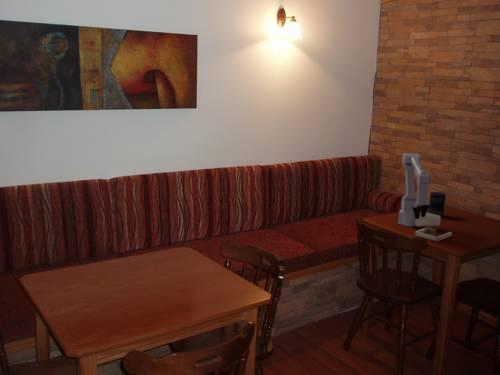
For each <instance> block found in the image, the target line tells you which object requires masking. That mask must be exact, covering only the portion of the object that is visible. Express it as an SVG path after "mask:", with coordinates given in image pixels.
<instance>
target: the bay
mask: <svg viewBox="0 0 500 375" xmlns="http://www.w3.org/2000/svg"><path fill="white" fill-rule="evenodd" d="M426 228H432V226H426V227H424V228H421V229H418V230H416V231H414V234H413V235H414V236H417V237H420V238H424V239H428V240H430V241H431V240H432V241H435V242H439V241H441V240H445V239H447V238H450V237H451V236H452V235H453V234H452V233H453V232H451V231H449V232H446V233H444V234H440V235H438V236H436V237H435V236H432V235H428V234H425V229H426Z"/></svg>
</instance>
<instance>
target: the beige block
mask: <svg viewBox="0 0 500 375" xmlns="http://www.w3.org/2000/svg"><path fill="white" fill-rule="evenodd" d="M425 228H426V229H425V233H424V234H428V235H432V236H435V237H437V236H436V234H437V228H434V227H433V228H432V227H431V228H427V227H425Z"/></svg>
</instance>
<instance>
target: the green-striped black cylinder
mask: <svg viewBox="0 0 500 375" xmlns="http://www.w3.org/2000/svg"><path fill="white" fill-rule="evenodd" d="M429 194H430V195H429V205H430V207H429V208H428V210H427V213H431V214H435V215H439V216H440V217H441V218H444V215H445V203H446V196H447V194H446V193H444V192H439V191H433V192H432V191H431V192H430V193H429Z"/></svg>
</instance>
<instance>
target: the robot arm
mask: <svg viewBox="0 0 500 375" xmlns="http://www.w3.org/2000/svg"><path fill="white" fill-rule="evenodd" d="M401 159H402V162H401V163H402V167H403V168H404V170H405V171H404V172H405V190H406V191H405V193H406V194H405V195H403V196H402V198H401V203H400V206H401V209H400V210H399V211H398V212H399V213H398V219H397V220H398V221H397V224H399V225H402V226H406V227H410V228H412V227H415V226H416V225H415V220H416V219H419V217H420V213H421V217H425V215H426V213H428V210H429V207H430V200H428V194H429V193H428V192H429V185H430V184H431V183H432V178H431V174H430V173H427V171H426V169H425V167H424V166H422V165H421V161H422V155H421V154H420V153H414V152H412V153H407V152H404V153H403V154H402V158H401ZM415 176H416V186H417V192H416V194H415Z"/></svg>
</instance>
